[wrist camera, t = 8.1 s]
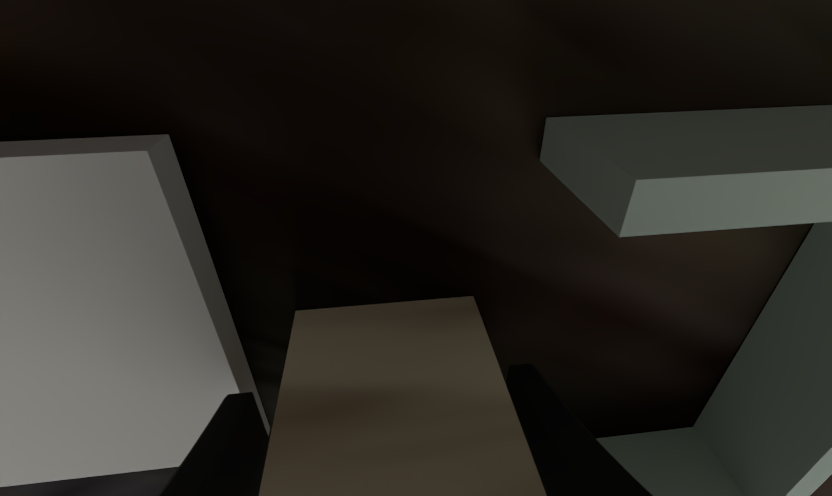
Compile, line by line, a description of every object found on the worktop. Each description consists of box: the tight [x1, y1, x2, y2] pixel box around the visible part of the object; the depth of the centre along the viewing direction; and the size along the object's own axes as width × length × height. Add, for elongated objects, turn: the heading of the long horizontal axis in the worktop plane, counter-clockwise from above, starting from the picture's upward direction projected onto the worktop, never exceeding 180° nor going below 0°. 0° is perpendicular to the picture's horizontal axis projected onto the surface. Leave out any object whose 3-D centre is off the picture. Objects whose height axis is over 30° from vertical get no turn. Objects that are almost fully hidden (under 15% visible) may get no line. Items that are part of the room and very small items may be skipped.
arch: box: [540, 105, 832, 496], centre depth 12 cm, size 14×10×4 cm
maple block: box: [259, 296, 547, 496], centre depth 10 cm, size 4×5×6 cm
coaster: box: [0, 134, 270, 487], centre depth 10 cm, size 10×10×1 cm
